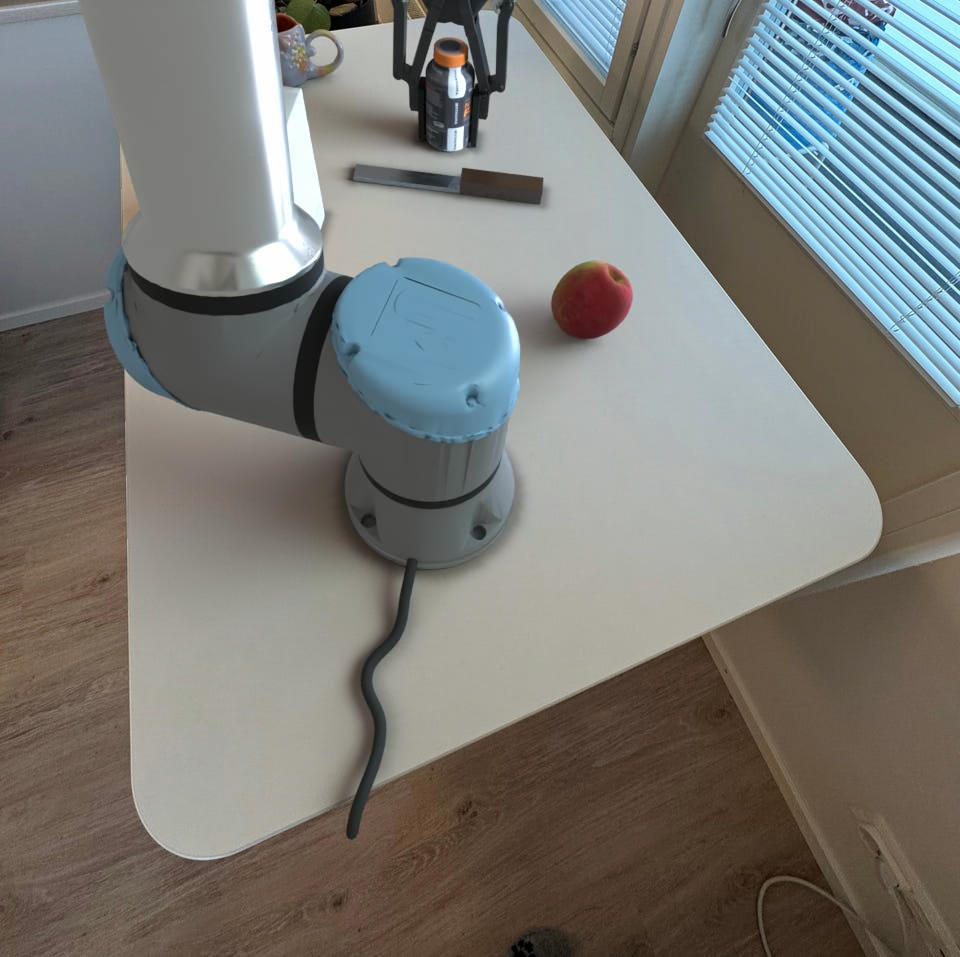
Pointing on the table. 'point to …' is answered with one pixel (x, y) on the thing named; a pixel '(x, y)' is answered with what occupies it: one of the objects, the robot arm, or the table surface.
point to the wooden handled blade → (459, 182)
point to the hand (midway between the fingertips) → (448, 136)
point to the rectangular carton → (302, 156)
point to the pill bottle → (449, 95)
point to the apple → (591, 300)
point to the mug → (301, 52)
